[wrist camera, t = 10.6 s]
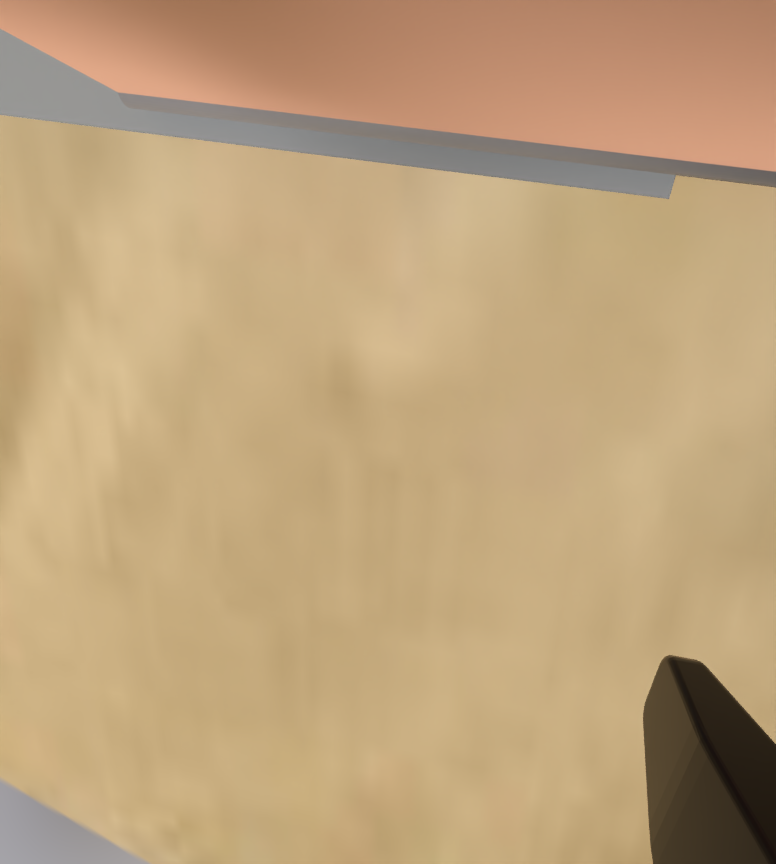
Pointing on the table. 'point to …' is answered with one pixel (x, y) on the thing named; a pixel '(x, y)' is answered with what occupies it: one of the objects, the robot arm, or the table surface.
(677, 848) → the robot arm
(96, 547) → the table surface
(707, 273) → the table surface
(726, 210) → the table surface
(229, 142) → the hitch block
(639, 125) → the latch flap
